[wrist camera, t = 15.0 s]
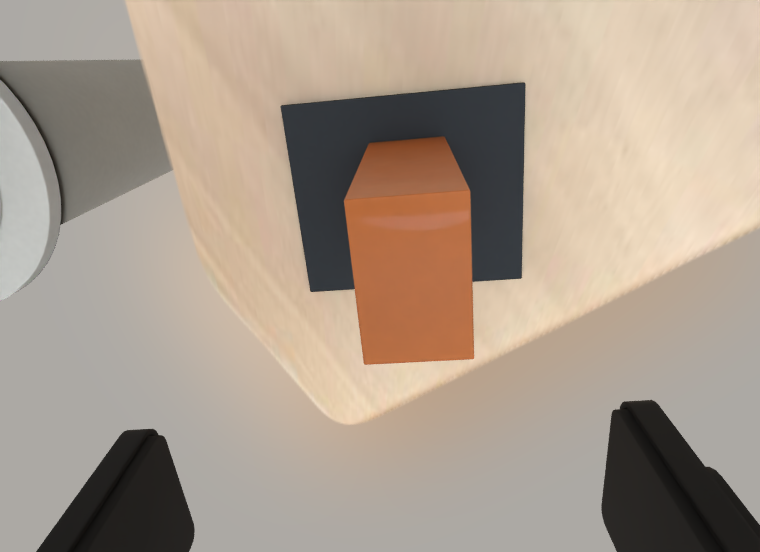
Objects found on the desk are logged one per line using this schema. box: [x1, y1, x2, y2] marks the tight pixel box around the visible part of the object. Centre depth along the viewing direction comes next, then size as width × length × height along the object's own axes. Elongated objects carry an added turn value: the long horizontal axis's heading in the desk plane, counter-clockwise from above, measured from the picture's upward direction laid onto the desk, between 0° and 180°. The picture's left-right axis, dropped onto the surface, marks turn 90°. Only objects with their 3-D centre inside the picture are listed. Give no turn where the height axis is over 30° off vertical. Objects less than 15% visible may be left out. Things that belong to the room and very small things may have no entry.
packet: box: [344, 136, 474, 365], centre depth 25 cm, size 4×7×13 cm, turn 5°
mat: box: [281, 83, 525, 292], centre depth 31 cm, size 14×12×1 cm
